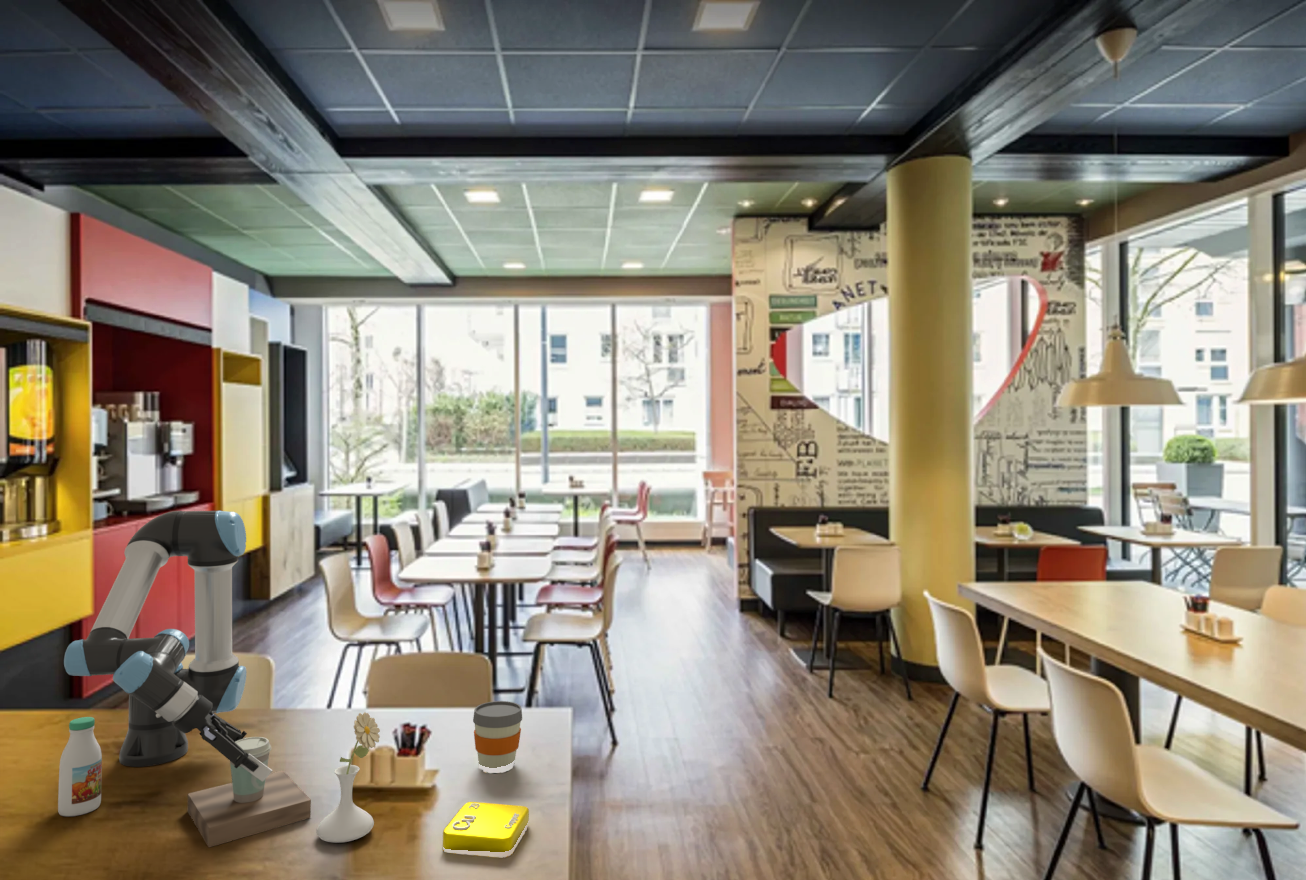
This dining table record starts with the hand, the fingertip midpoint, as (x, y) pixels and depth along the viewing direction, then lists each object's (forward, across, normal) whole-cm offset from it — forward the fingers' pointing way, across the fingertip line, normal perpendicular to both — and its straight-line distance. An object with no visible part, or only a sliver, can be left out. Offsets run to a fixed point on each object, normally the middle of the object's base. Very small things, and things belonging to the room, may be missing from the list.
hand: (265, 767), depth 174 cm
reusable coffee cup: (+45, +2, +31) cm, 55 cm away
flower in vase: (+17, +19, +3) cm, 26 cm away
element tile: (+35, +35, +20) cm, 54 cm away
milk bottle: (-18, -21, -32) cm, 42 cm away
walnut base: (+5, 0, -9) cm, 10 cm away
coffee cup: (+2, 0, -6) cm, 7 cm away
